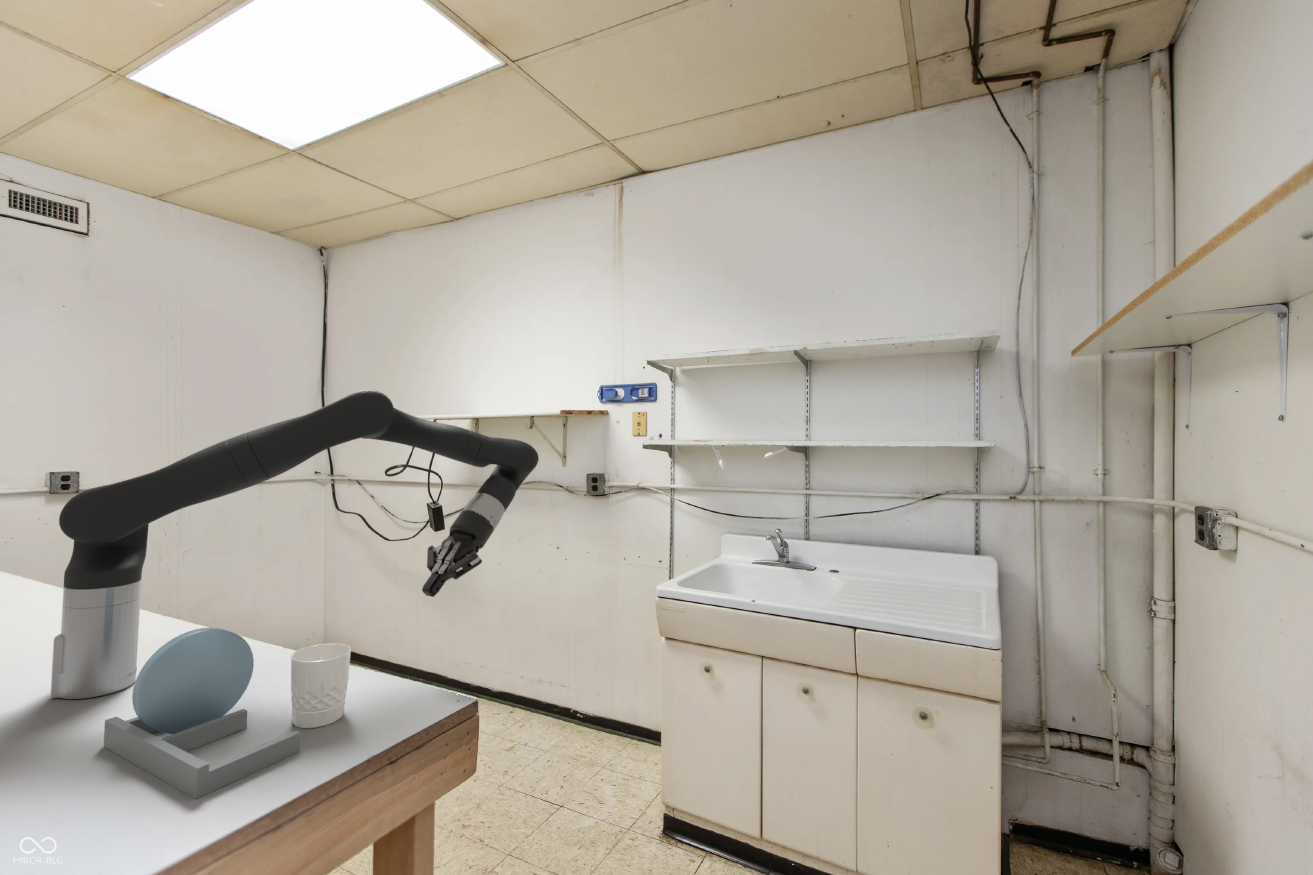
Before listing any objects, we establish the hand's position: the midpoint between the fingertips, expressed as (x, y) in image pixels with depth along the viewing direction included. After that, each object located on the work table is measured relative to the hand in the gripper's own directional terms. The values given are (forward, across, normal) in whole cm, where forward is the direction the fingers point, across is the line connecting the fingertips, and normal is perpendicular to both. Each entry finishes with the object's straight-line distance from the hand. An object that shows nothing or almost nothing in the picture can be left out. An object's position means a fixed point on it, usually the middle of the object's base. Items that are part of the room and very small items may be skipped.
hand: (427, 593), depth 104 cm
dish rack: (+32, -5, -12) cm, 35 cm away
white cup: (+24, 0, -4) cm, 25 cm away
